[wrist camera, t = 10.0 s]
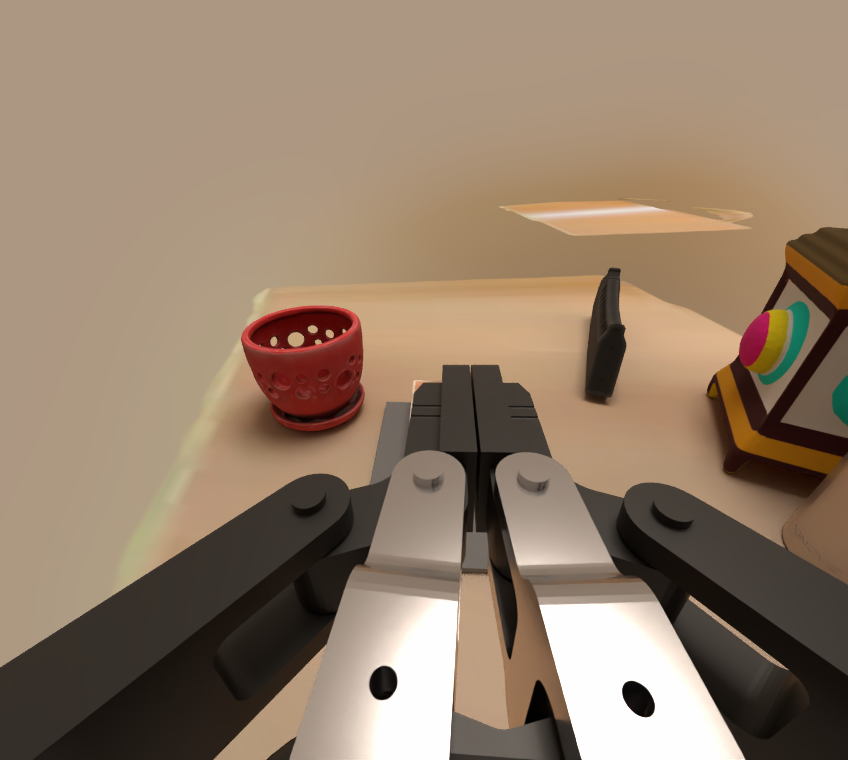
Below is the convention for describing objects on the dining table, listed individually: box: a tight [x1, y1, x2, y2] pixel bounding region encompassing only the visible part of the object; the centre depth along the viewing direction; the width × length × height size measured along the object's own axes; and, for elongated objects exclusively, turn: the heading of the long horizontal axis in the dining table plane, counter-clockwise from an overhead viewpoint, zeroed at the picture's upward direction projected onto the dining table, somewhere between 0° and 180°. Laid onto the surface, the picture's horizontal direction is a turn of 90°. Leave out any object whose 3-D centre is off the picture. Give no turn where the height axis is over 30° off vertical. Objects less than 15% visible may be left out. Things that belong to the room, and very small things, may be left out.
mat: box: [370, 402, 488, 573], centre depth 39 cm, size 15×22×1 cm
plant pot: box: [241, 306, 365, 431], centre depth 45 cm, size 13×13×12 cm
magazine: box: [585, 268, 626, 397], centre depth 58 cm, size 17×3×30 cm
